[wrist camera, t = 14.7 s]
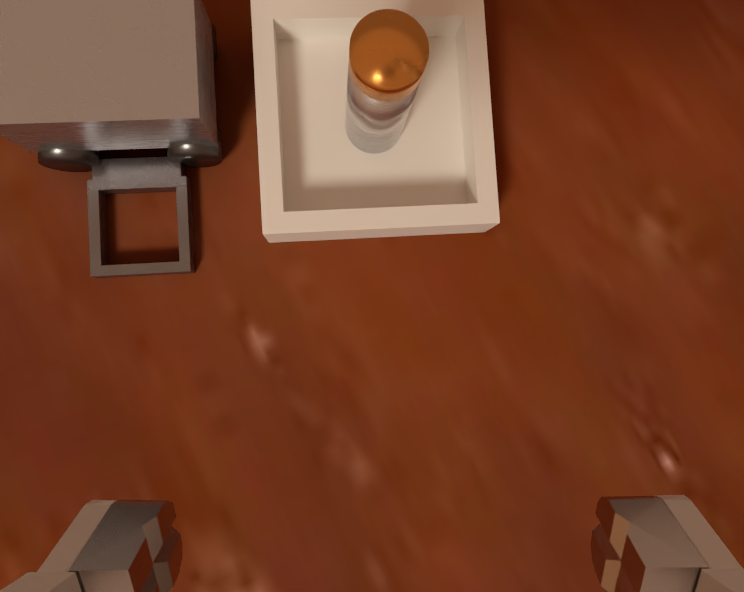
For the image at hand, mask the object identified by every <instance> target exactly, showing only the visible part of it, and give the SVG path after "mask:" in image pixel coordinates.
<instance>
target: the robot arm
mask: <svg viewBox="0 0 744 592" xmlns="http://www.w3.org/2000/svg"><path fill="white" fill-rule="evenodd" d="M596 515H597V517H598V519H599V521H600V524H599V525H598V526H597V527H596V528H595V529H594V530H593V531H592V538H591V554H592V561H593V565H594V569H595V572H596V575H597V577H598V579H599V582H600V584H601V586H602V587H604V588H605V589H606V590H607V591H608V592H744V569H743V568H742V567H741V566H740V564H739V563H738V562H737V560H736V559H735V558H734V556H733V555H732V554H731V552H730V551H729V550H728V549H727V547H726V546H725V545H724V543H723V542H722V541H721V539H720V538H719V537H718V535H717V534H716V533H715V531H714V530H713V529H712V527H711V526H710V525H709V524H708V522H707V521H706V520H705V518H704V517H703V516H702V514H701V513H700V512H699V510H698V509H697V508H696V506H695V505H694V504H693V503H692V501H691V500H690V499H689V498H687V497H686V496H684V495H659V496H615V497H601V498H600V500H599V501H598V503H597V509H596ZM175 518H176V513H175V509H174V505H173V503H172V502H170V501H160V500H92V501H90V502H88V503H87V504H85V505H84V507H83V508H82V509H81V511H80V512H79V514H78V515H77V516H76V518H75V519H74V521H73V522H72V523H71V525H70V526H69V528H68V529H67V530H66V532H65V533H64V535H63V536H62V537H61V539H60V540H59V542H58V543H57V544H56V546H55V547H54V549H53V550H52V551H51V553H50V554H49V556H48V557H47V558H46V560H45V561H44V562H43V564H42V565H41V567H40V568H39V569H38V571H37V572H28V573H27V574H25V575H24V576H22V577H21V578H19V579H17V580H16V581H14V582H13V583H11V584H10V585H8V586H7V587H5V588H4V589H2V590H1V591H0V592H168V591H170V590H171V589H172V588H173V587H174V585H175V582H176V580H177V577H178V574H179V571H180V566H181V561H182V540H181V535H180V533H179V532H178V531H177V530H175V529H174V528H173V527H172V524H173V522H174V520H175Z"/></svg>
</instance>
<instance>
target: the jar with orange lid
mask: <svg viewBox="0 0 744 592" xmlns="http://www.w3.org/2000/svg"><path fill="white" fill-rule="evenodd" d="M428 57H429V42H428V38H427V35H426V33H425V31H424V29H423V28H422V26H421V25H420V24H419V23H418V22H417V21H416V20H415V19H414V18H413V17H412V16H410V15H408V14H407V13H404V12H402V11H399V10H394V9H381V10H377V11H374V12H371V13H369V14H367V15H366V16H365V17H363V18H362V19H361V20H360V21H359V22H358V23H357V25H356V26H355V28H354V30H353V32H352V34H351V38H350V46H349V63H348V80H347V98H346V115H345V130H346V134H347V136H348V138H349V140H350V141H351V143H352V144H353V145H354V146H355V147H356V148H358V149H359V150H361V151H363V152H366V153H371V154H378V153H383V152H385V151H388V150H389V149H391V148H392V147H393V146H394V145H395V144H396V143H397V142H398V140H399V138H400V136H401V133H402V130H403V128H404V125H405V122H406V119H407V117H408V114H409V111H410V108H411V106H412V103H413V100H414V97H415V94H416V92H417V89H418V86H419V83H420V81H421V78H422V75H423V72H424V70H425V67H426V64H427V61H428Z"/></svg>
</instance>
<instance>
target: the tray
mask: <svg viewBox="0 0 744 592" xmlns="http://www.w3.org/2000/svg"><path fill="white" fill-rule="evenodd" d="M250 1H251V20H252V40H253V59H254V78H255V97H256V116H257V135H258V154H259V173H260V192H261V211H262V230H263V235H264V237H265V238H266V239H267V240H268V242H269V243H273V242H293V241H313V240H334V239H354V238H374V237H394V236H415V235H435V234H455V233H475V232H486V231H487V230H489V229H491V228H492V227H494V226H496V225H497V224H499V223H500V217H499V204H498V190H497V176H496V163H495V149H494V135H493V122H492V108H491V95H490V81H489V67H488V54H487V40H486V27H485V13H484V0H250ZM381 9H394V10H399V11H402V12H404V13H407V14H408V15H410V16H412V17H413V18H414V19H415V20H416V21H417V22H418V23H419V24H420V25H421V26H422V28H423V29H424V31H425V33H426V35H427V38H428V42H429V57H428V61H427V64H426V67H425V70H424V72H423V75H422V78H421V81H420V83H419V86H418V89H417V92H416V94H415V97H414V100H413V103H412V106H411V108H410V111H409V114H408V117H407V119H406V122H405V125H404V128H403V130H402V133H401V136H400V138H399V140H398V142H397V143H396V144H395V145H394V146H393V147H392V148H391V149H389V150H388V151H385V152H383V153H378V154H371V153H366V152H363V151H361V150H359V149H358V148H356V147H355V146H354V145H353V144H352V143H351V141H350V140H349V138H348V136H347V134H346V130H345V115H346V98H347V80H348V63H349V46H350V38H351V34H352V32H353V30H354V28H355V26H356V25H357V23H358V22H359V21H360V20H361V19H362V18H363V17H365V16H366V15H367V14H369V13H371V12H374V11H377V10H381Z"/></svg>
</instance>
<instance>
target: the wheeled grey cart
mask: <svg viewBox="0 0 744 592" xmlns="http://www.w3.org/2000/svg"><path fill="white" fill-rule="evenodd" d="M216 60H217V41H216V28H215V26H214V25H213V24H212V23H211V22H210V19H209V17H208V14H207V12H206V9H205V7H204V5H203V2H202V0H0V135H1V136H3V137H5V138H6V139H8V140H10V141H12V142H14V143H15V144H17V145H19V146H21V147H22V148H24V149H26V150H28V151H30V152H31V153H34V152H38V162H39V164H41V165H42V166H45V167H47V168H51V169H55V170H60V171H68V172H88V171H92V180H87V192H88V219H89V246H90V272H91V277H96V278H107V277H126V276H145V275H164V274H183V273H195V260H194V238H193V217H192V195H191V181H190V180H189V179H188V178H187V177H186V175H185V166H186V167H211V166H215V165H218V164H220V163H221V162H222V142H221V132H220V130H219V129H217V121H216V101H215V80H214V63H215V62H216ZM149 148H167V155H168V157H146V158H118V159H99V150H120V149H149ZM170 191H176V195H177V217H178V239H179V262H160V263H141V264H121V265H109V264H108V238H107V213H106V194H122V193H146V192H170Z"/></svg>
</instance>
